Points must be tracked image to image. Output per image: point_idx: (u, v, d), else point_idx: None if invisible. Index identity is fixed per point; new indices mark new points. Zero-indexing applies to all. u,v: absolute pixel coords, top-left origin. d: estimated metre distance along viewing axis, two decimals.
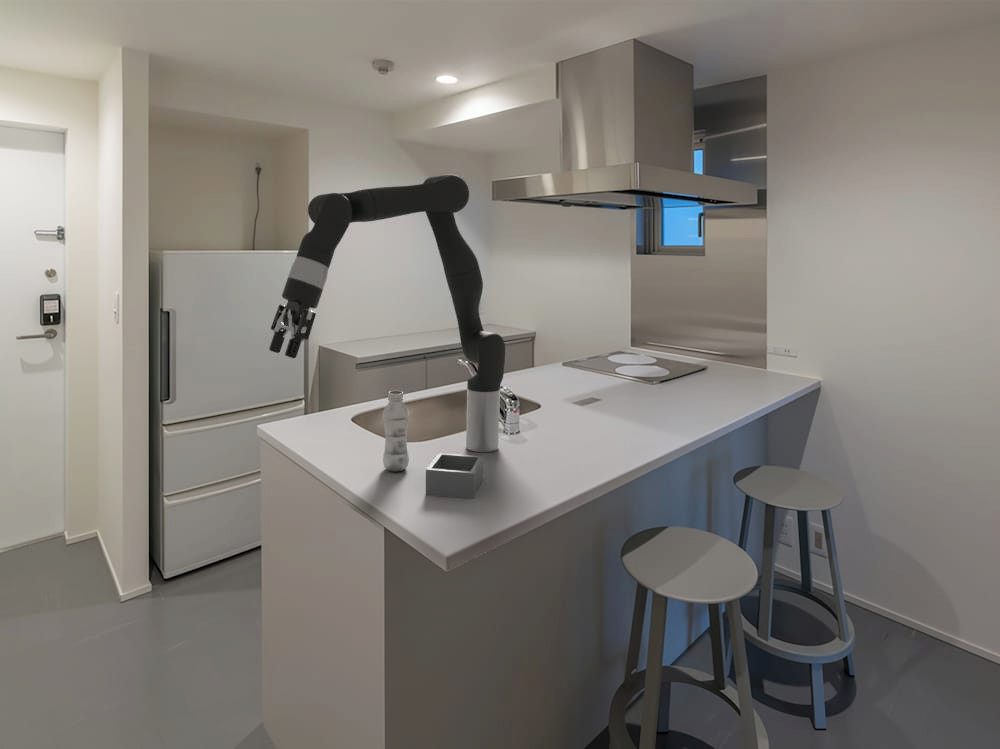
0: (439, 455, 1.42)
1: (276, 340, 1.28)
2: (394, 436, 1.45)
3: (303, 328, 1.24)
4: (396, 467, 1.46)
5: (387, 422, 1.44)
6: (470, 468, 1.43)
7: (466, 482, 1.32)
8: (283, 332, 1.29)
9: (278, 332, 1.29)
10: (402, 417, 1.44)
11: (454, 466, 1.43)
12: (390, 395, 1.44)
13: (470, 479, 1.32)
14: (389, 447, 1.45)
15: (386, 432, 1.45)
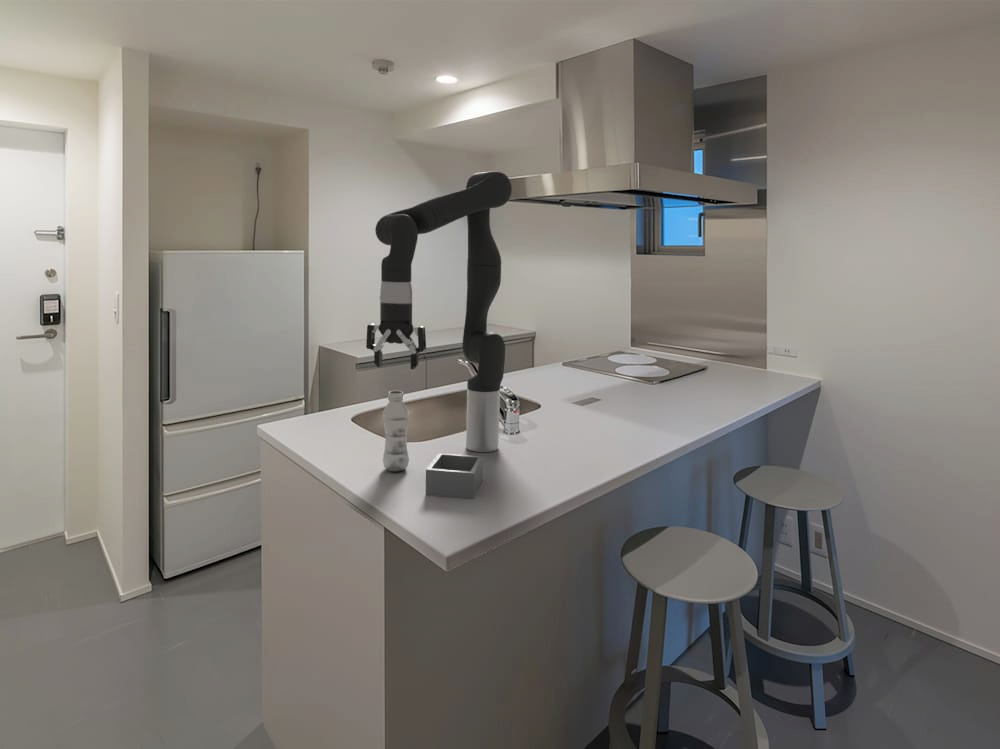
0: (439, 455, 1.42)
1: (380, 357, 1.44)
2: (394, 436, 1.45)
3: (412, 341, 1.43)
4: (396, 467, 1.46)
5: (387, 422, 1.44)
6: (470, 468, 1.43)
7: (466, 482, 1.32)
8: (380, 347, 1.44)
9: (379, 349, 1.43)
10: (402, 417, 1.44)
11: (454, 466, 1.43)
12: (390, 395, 1.44)
13: (470, 479, 1.32)
14: (389, 447, 1.45)
15: (386, 432, 1.45)
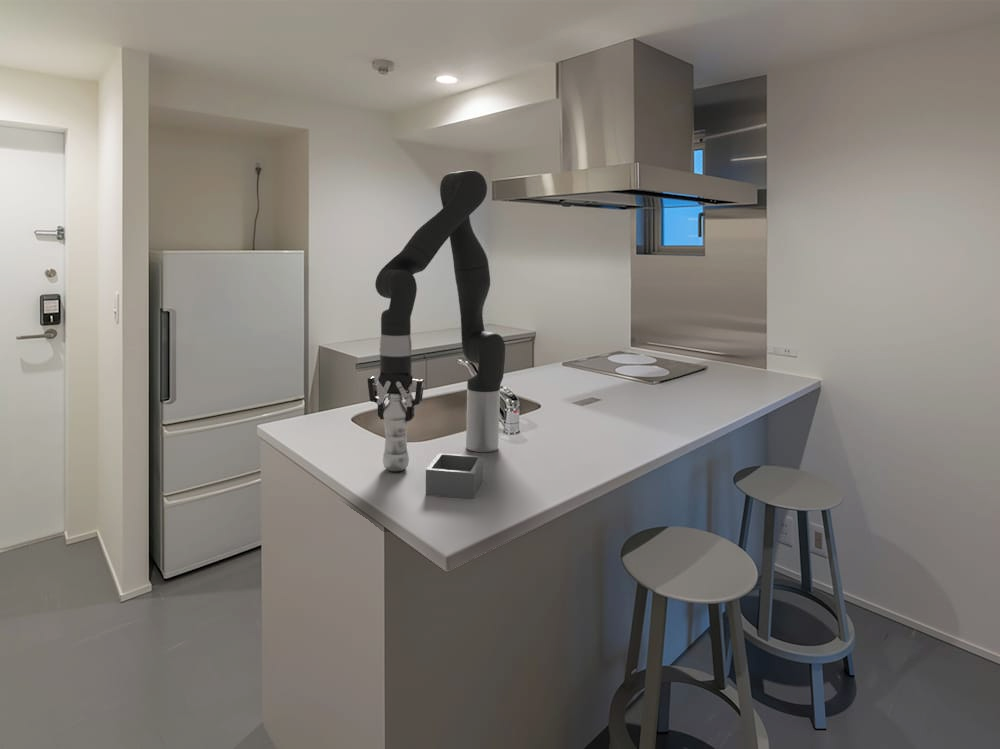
0: (439, 455, 1.42)
1: (383, 409, 1.46)
2: (394, 436, 1.45)
3: (410, 393, 1.46)
4: (396, 467, 1.46)
5: (387, 422, 1.44)
6: (470, 468, 1.43)
7: (466, 482, 1.32)
8: (383, 400, 1.47)
9: (382, 402, 1.46)
10: (402, 417, 1.44)
11: (454, 466, 1.43)
12: (390, 395, 1.44)
13: (470, 479, 1.32)
14: (389, 447, 1.45)
15: (386, 432, 1.45)
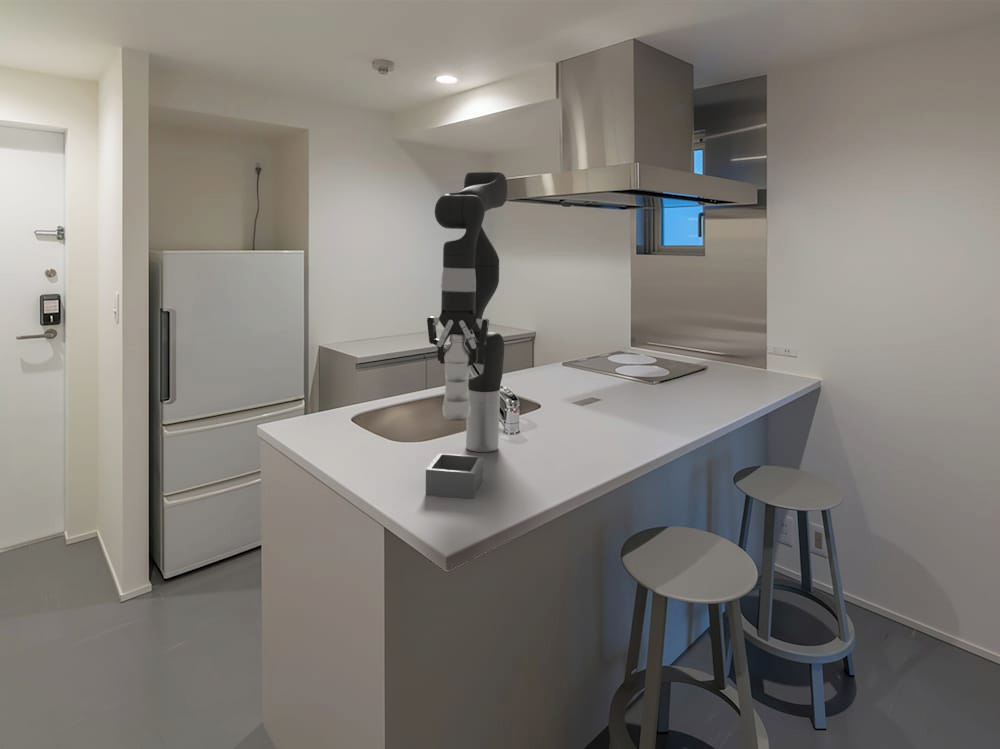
0: (439, 455, 1.42)
1: (443, 352, 1.33)
2: (456, 382, 1.32)
3: (473, 334, 1.33)
4: (458, 416, 1.33)
5: (448, 366, 1.31)
6: (470, 468, 1.43)
7: (466, 482, 1.32)
8: (444, 342, 1.34)
9: (443, 344, 1.33)
10: (465, 360, 1.31)
11: (454, 466, 1.43)
12: (452, 336, 1.31)
13: (470, 479, 1.32)
14: (450, 393, 1.32)
15: (447, 377, 1.32)
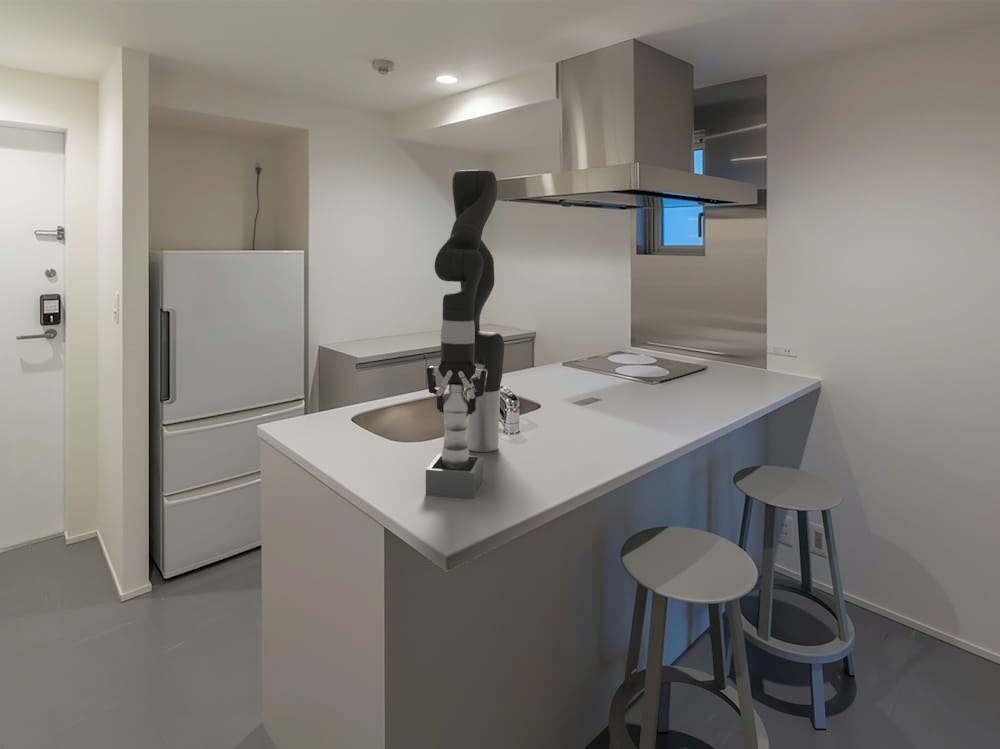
0: (439, 455, 1.42)
1: (443, 401, 1.35)
2: (455, 431, 1.34)
3: (472, 384, 1.35)
4: (456, 464, 1.35)
5: (447, 416, 1.33)
6: (470, 468, 1.43)
7: (466, 482, 1.32)
8: (443, 391, 1.36)
9: (442, 393, 1.35)
10: (464, 410, 1.33)
11: None
12: (451, 386, 1.33)
13: (470, 479, 1.32)
14: (449, 442, 1.34)
15: (446, 426, 1.34)
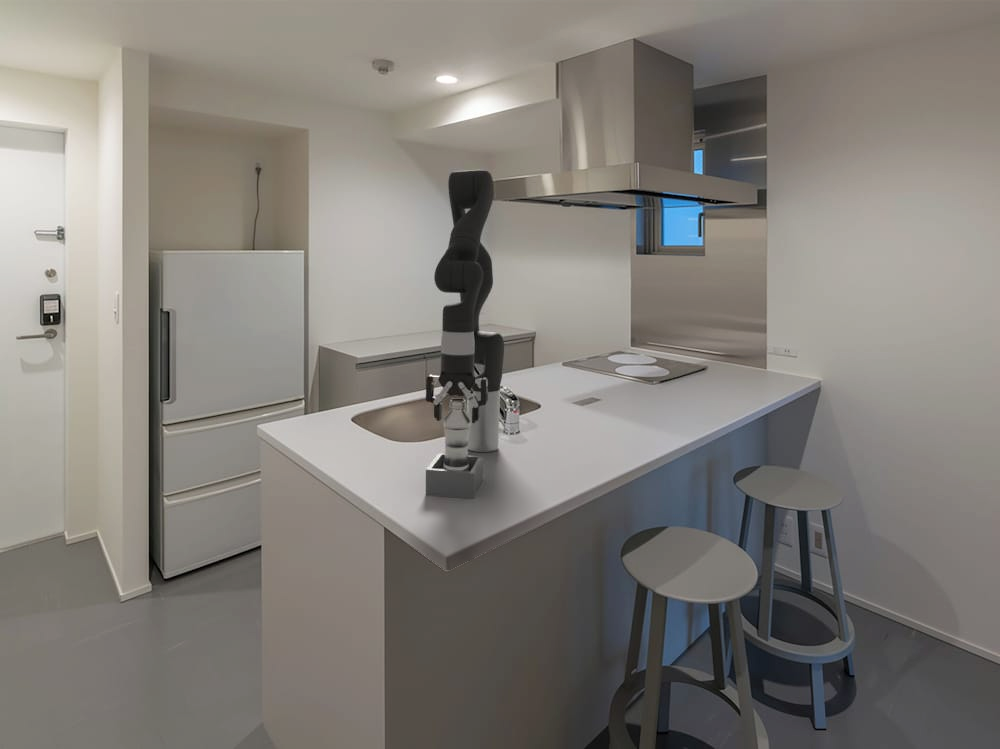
0: (439, 455, 1.42)
1: (440, 410, 1.36)
2: (455, 447, 1.34)
3: (474, 393, 1.35)
4: None
5: (448, 432, 1.34)
6: (470, 468, 1.43)
7: (466, 482, 1.32)
8: None
9: (439, 402, 1.35)
10: (464, 426, 1.34)
11: None
12: (452, 403, 1.34)
13: (470, 479, 1.32)
14: (450, 458, 1.35)
15: (447, 442, 1.35)
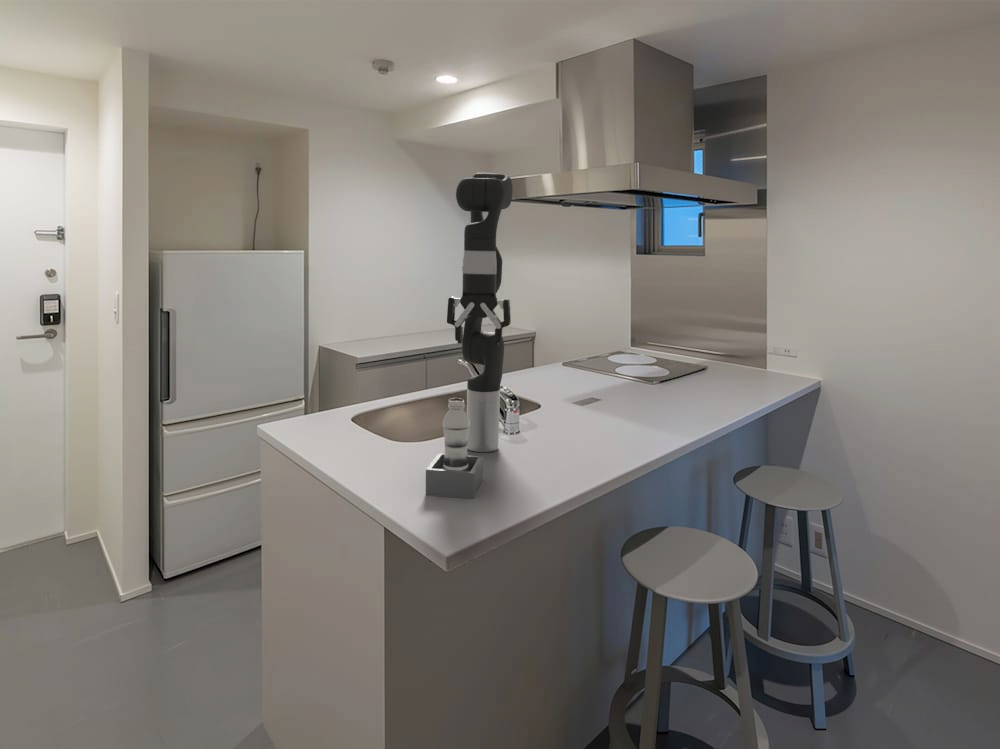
0: (439, 455, 1.42)
1: (461, 332, 1.35)
2: (455, 447, 1.34)
3: (496, 315, 1.34)
4: None
5: (447, 432, 1.34)
6: (470, 468, 1.43)
7: (466, 482, 1.32)
8: (461, 322, 1.35)
9: (460, 324, 1.34)
10: (463, 426, 1.34)
11: None
12: (451, 403, 1.34)
13: (470, 479, 1.32)
14: (449, 458, 1.35)
15: (446, 443, 1.35)
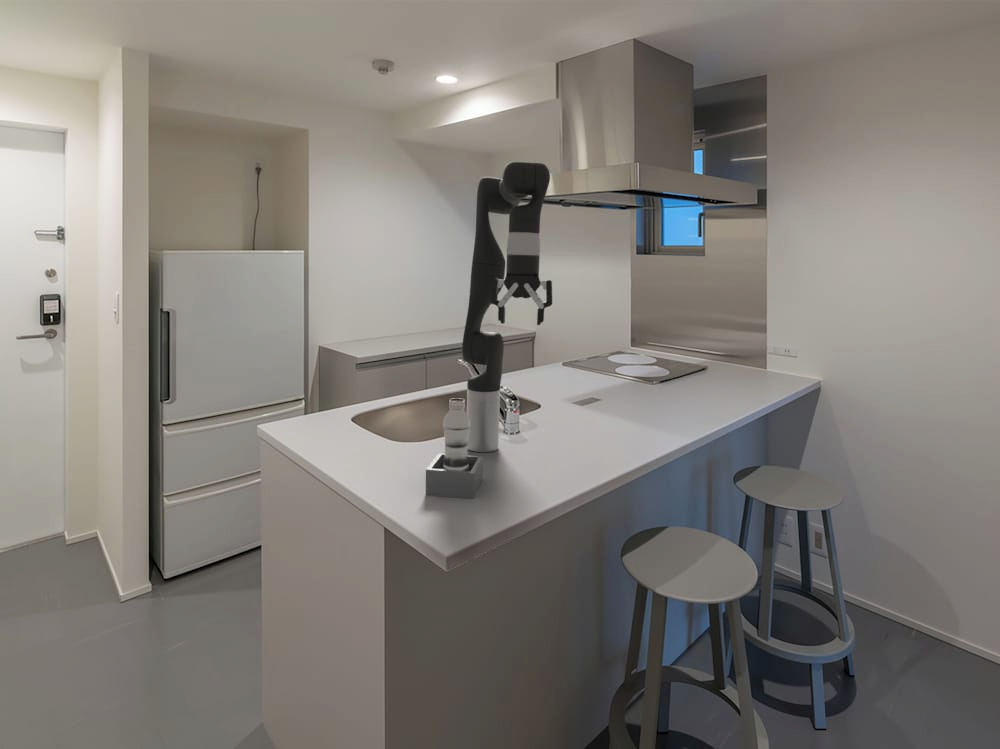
0: (439, 455, 1.42)
1: (504, 312, 1.38)
2: (455, 447, 1.34)
3: (538, 296, 1.38)
4: None
5: (448, 432, 1.34)
6: (470, 468, 1.43)
7: (466, 482, 1.32)
8: None
9: (503, 305, 1.38)
10: (464, 426, 1.34)
11: None
12: (451, 403, 1.34)
13: (470, 479, 1.32)
14: (449, 458, 1.35)
15: (447, 443, 1.35)
